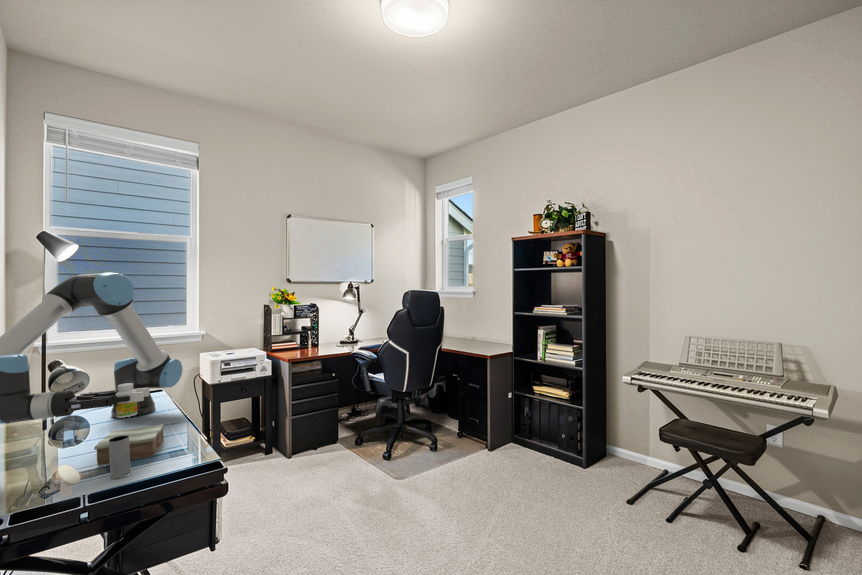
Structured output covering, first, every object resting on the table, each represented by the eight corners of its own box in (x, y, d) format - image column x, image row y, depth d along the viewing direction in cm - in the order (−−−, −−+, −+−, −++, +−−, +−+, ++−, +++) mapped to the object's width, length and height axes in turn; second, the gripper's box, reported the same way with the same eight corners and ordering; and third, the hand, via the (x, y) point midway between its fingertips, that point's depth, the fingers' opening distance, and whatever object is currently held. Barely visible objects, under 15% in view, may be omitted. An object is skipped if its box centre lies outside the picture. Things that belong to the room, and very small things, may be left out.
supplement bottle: (124, 418, 132) (122, 387, 132) (112, 417, 134) (110, 386, 134) (141, 413, 137) (139, 382, 137) (130, 412, 139) (128, 382, 139)
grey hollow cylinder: (128, 477, 118) (125, 439, 117) (108, 480, 116) (105, 442, 116) (133, 470, 122) (131, 434, 122) (114, 473, 120) (111, 436, 120)
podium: (112, 448, 140) (111, 431, 140) (165, 440, 146) (164, 424, 145) (95, 466, 126) (94, 446, 126) (154, 456, 132) (153, 438, 132)
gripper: (69, 408, 138) (154, 398, 146) (40, 426, 121) (137, 413, 129) (68, 385, 138) (152, 376, 146) (38, 399, 121) (136, 388, 128)
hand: (145, 394), depth 137 cm, fingers closed on supplement bottle, 5 cm apart
